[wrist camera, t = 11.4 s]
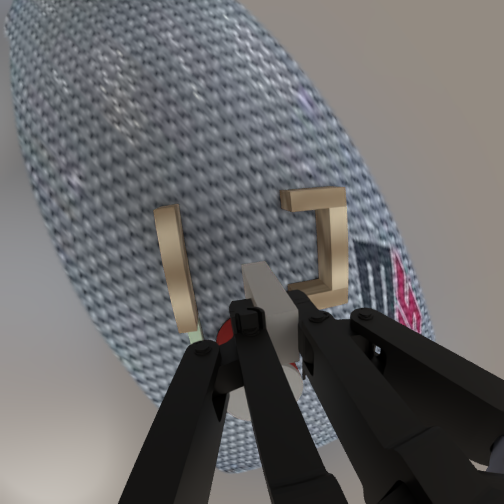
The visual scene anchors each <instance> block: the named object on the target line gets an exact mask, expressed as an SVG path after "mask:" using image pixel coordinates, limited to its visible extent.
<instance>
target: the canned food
mask: <svg viewBox="0 0 504 504" xmlns="http://www.w3.org/2000/svg"><path fill="white" fill-rule="evenodd" d="M233 335H234V334H233V328H232V322H231V318H230V319H229V320H227V321H226V322H225V323H224V324H223V326H222V327H221V329H220V331H219V333H218V336H217V340H216V343H217V344H218V345H221V344H223V343H226V342H227V341H229V340H230V339H231V338H232V337H233ZM282 368H283V370H284V373H285V375H286V378H287V380H288V382H289V385H290V387H291V390H292V392H293V394H294V397H295V399H296V402H297V401H298V399H299V398H300V396H301V394H302V390H303V381H302V378H301V375H300V373H299V370H298V368H297V366H296V364H295V362H294V363H289V364H285V365H282ZM227 412H228V413H229V414H231V415H232V416H234V417H236V418H238V419H241V420H246V421H251V417H250V413H249V408H248V404H247V399H246V395H245V390H244V386H243V387H241V388H238V389H236V390H234V391H231V392H230V398H229V403H228V408H227Z"/></svg>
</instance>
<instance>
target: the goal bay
mask: <svg viewBox="0 0 504 504" xmlns="http://www.w3.org/2000/svg"><path fill="white" fill-rule="evenodd" d="M188 335H189V339H190V343H191V344H192V343H194V342H197V341H200V340H204V338H203V333H202V329H201V324H200V320H199V318H198V330H197V331H194V332H188Z"/></svg>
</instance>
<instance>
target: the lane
mask: <svg viewBox="0 0 504 504" xmlns="http://www.w3.org/2000/svg"><path fill="white" fill-rule="evenodd" d="M280 199H281V209H284V210H287V211H290V212H297V211H306V210H315V214H316V229H317V247H318V271H319V279H314V280H309V281H304V282H298V283H293V284H288V291H291V290H296V289H298V290H300V291H302V292H304V293H305V294H306V295H307V296H308V298H309V299H310V300H311V301H312V302H313V304H314V305H315V306H316V307H317V308H318V310H320V309H324V308H329V307H333V306H337V305H341V304H346V303H348V228H347V207H346V191H345V187H332V186H327V187H314V188H302V189H291V190H280ZM153 211H154V218H155V224H156V230H157V236H158V241H159V247H160V252H161V257H162V262H163V267H164V272H165V277H166V281H167V286H168V290H169V295H170V299H171V303H172V307H173V311H174V315H175V319H176V323H177V327H178V331H179V333H186V332H194V331H197V330H198V311H197V306H196V301H195V296H194V291H193V286H192V281H191V276H190V270H189V265H188V259H187V253H186V248H185V242H184V235H183V229H182V223H181V216H180V209H179V204H174V205H168V206H162V207H159V208H157V209H155V210H153Z"/></svg>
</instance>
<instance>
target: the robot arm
mask: <svg viewBox="0 0 504 504" xmlns="http://www.w3.org/2000/svg"><path fill="white" fill-rule="evenodd" d="M241 266H242V274H243V282H244V290H245V298H246V299H243V300H236V301H232V302H231V304H230V305H229V310H230V316H231V322H232V328H233V334H234V335H233V337H232V338H231V339H230V340H229V341H227V342H226V343H223V344H221V345H218V344H217V343H216V342H214V341H212V340H200V341H197V342H194V343H192V344H191V345H189V346H188V348H187V349H186V351H185V353H184V355H183V357H182V360H181V362H180V364H179V366H178V368H177V370H176V373H175V375H174V377H173V379H172V381H171V383H170V386H169V388H168V390H167V392H166V394H165V397H164V399H163V401H162V403H161V406H160V408H159V410H158V412H157V414H156V417H155V419H154V421H153V423H152V426H151V428H150V430H149V433H148V435H147V437H146V439H145V442H144V444H143V446H142V448H141V451H140V453H139V455H138V458H137V460H136V462H135V464H134V467H133V469H132V472H131V474H130V476H129V479H128V481H127V483H126V486H125V488H124V490H123V493H122V495H121V498H120V500H119V503H118V504H208V500H209V495H210V490H211V485H212V481H213V476H214V471H215V466H216V462H217V457H218V452H219V447H220V442H221V437H222V432H223V427H224V423H225V418H226V413H227V408H228V403H229V398H230V392H231V391H234V390H236V389H238V388H241V387H243V386H244V390H245V395H246V399H247V404H248V408H249V413H250V417H251V422H252V426H253V431H254V435H255V439H256V444H257V448H258V452H259V456H260V460H261V464H262V468H263V472H264V476H265V480H266V484H267V488H268V492H269V496H270V499H271V503H272V504H348V502H347V500H346V498H345V496H344V494H343V491H342V489H341V487H340V485H339V483H338V481H337V479H336V478H335V477H334V476H333V474H330V473H328V472H327V471H326V469H325V467H324V465H323V463H322V460H321V458H320V456H319V453H318V451H317V449H316V446H315V444H314V442H313V439H312V437H311V435H310V432H309V430H308V428H307V425H306V423H305V420H304V418H303V416H302V413H301V411H300V409H299V406H298V404H297V402H296V399H295V397H294V394H293V392H292V390H291V387H290V385H289V382H288V380H287V378H286V375H285V373H284V370H283V368H282V365H285V364H289V363H294V362H298V361H299V352H300V354H301V356H302V377H303V380H305V375H307V377H308V379H309V381H310V383H311V385H312V387H313V389H314V391H315V393H316V395H317V397H318V399H319V401H320V403H321V405H322V407H323V409H324V411H325V413H326V415H327V416H328V418H329V420H330V422H331V424H332V426H333V428H334V430H335V432H336V434H337V436H338V438H339V440H340V442H341V444H342V446H343V448H344V450H345V452H346V454H347V456H348V458H349V460H350V462H351V464H352V466H353V468H354V470H355V471H356V473H357V475H358V477H359V479H360V481H361V483H362V485H363V491H364V492H363V493H364V500H365V503H366V504H504V380H502V379H501V378H499V377H497V376H495V375H493V374H491V373H490V372H488V371H486V370H484V369H483V368H481V367H479V366H477V365H475V364H474V363H472V362H470V361H468V360H466V359H465V358H463V357H461V356H459V355H457V354H455V353H454V352H452V351H450V350H448V349H446V348H444V347H443V346H441V345H439V344H437V343H435V342H434V341H432V340H430V339H428V338H426V337H424V336H422V335H421V334H419V333H417V332H415V331H413V330H411V329H410V328H408V327H406V326H404V325H402V324H400V323H399V322H397V321H395V320H393V319H391V318H389V317H387V316H386V315H384V314H382V313H380V312H378V311H376V310H374V309H371V308H359V309H355V310H354V311H352V313H351V315H350V319H342V320H336V319H335V318H334V317H333V316H332V315H331V314H330V313H328V312H325V311H319V310H318V308H317V307H316V306H315V305H314V304H313V302H312V301H311V300H310V299H309V298H308V296H307V295H306V294H305V293H304V292H302V291H300V290H298V289H296V290H291V291H285V290H284V288H283V287H282V285H281V284H280V282H279V281H278V279H277V278H276V276H275V275H274V273H273V272H272V270H271V269H270V267H269V266H268V264H267V263H266V261H262V262H255V263H248V264H242V265H241ZM376 346H378V347H379V348H381V351H380V354H378V353H376V352H375V348H376ZM469 459H470V460H472V461H474V462H477V463H479V464H482V465H486V466H488V468H487V470H486V471H480V470H477V469H476V468H475V467H474V465H473V464H472V463H471V462H470V460H469Z"/></svg>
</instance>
